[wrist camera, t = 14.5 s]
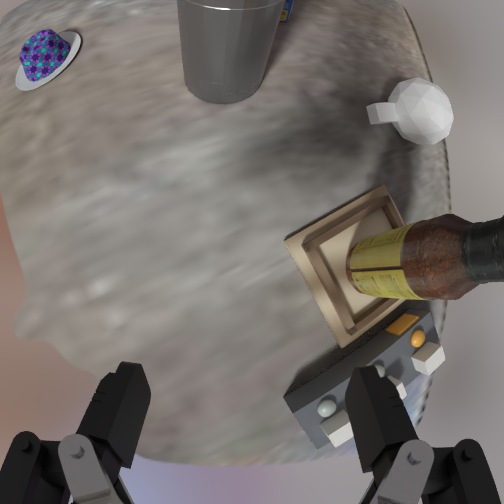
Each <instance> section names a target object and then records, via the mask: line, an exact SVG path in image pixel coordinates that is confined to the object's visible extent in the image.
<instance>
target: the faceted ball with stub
mask: <svg viewBox="0 0 504 504" xmlns="http://www.w3.org/2000/svg"><path fill="white" fill-rule="evenodd" d="M366 108H367V112H368V116H369V120H370V125H372V124H383V123H392V124H393V126H394V127H395V128H396V130H397V131H398V132H399V134H400V135H401V136H402V138H404V139H407V140H409V141H411V142H413V143H415V144H419V145H430V144H436V143H437V142H439V141H440V140H442V139H443V138H445V137H446V136H448V135H449V132H450V129H451V125H452V122H453V118H454V117H453V113H452V109H451V104H450V102H449V99H448V97H447V96H446V95H445V93H444V92H443V91H442V90H441V89H440V87H439V86H438V85H436V84H433V83H431V82H429V81H426V80H424V79H422V78H419V77H417V78H413V79H409V80H406V81H402V82H399V83H398V84H397V86H396V87H395V88H394V89H393V91H392V93H391V95H390V96H389V98H388V102H386V103H374V104H371V105H369V106H366Z"/></svg>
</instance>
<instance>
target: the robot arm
mask: <svg viewBox="0 0 504 504" xmlns="http://www.w3.org/2000/svg"><path fill="white" fill-rule="evenodd" d="M285 1H286V0H177V7H178V19H179V31H180V41H181V51H182V62H183V71H184V79H185V83H186V86H187V87H188V89H189V91H190V92H191V93H193V94H194V95H195V96H196V97H198V98H200V99H202V100H204V101H207V102H211V103H216V104H229V103H235V102H239V101H242V100H244V99H246V98H248V97H250V96H251V95H252V94H254V93H255V92H256V91H257V89H258V88H259V86H260V84H261V81H262V78H263V74H264V71H265V67H266V64H267V61H268V57H269V54H270V51H271V47H272V44H273V40H274V37H275V34H276V30H277V27H278V24H279V20H280V17H281V14H282V11H283V7H284V4H285ZM150 399H151V391H150V387H149V384H148V381H147V379H146V376H145V373H144V370H143V367H142V365H141V364H138V363H131V362H124V361H122V362H121V363H120V364H119V366H118V368H117V370H116V373H111V372H110V373H108V374H107V375H106V376H105V377H104V378H103V379H102V380H101V381H100V383H99V385H98V387H97V389H96V393H94V395H93V398H92V401H91V402H90V404H89V406H88V408H87V410H86V412H85V415H84V417H83V419H82V421H81V424H80V426H79V428H78V430H77V432H76V433H75V434H71V435H68V436H66V437H65V438H64V439H63V440H62V441H44V440H40V439H39V438H38V437H37V436H36V435H35V434H34V433H32V432H29V431H24V432H20V433H19V434H17V435H16V436H15V437H14V439H13V441H12V443H11V446H10V448H9V451H8V453H7V455H6V458H5V460H4V463H3V465H2V468H1V470H0V504H68V502H69V498H70V495H72V497H73V503H71V504H134V502H133V500H132V498H131V496H130V495H129V493H128V491H127V489H126V487H125V485H124V483H123V481H122V479H121V477H120V475H119V471H120V468H121V467H125V468H129V469H130V468H131V465H132V461H133V457H134V454H135V451H136V447H137V444H138V440H139V437H140V433H141V430H142V427H143V423H144V420H145V417H146V413H147V410H148V407H149V404H150ZM345 405H346V409H347V413H348V417H349V420H350V424H351V428H352V432H353V435H354V439H355V443H356V447H357V451H358V455H359V459H360V463H361V467H362V471H363V473H366V472H371V471H372V472H373V476H374V478H373V479H372V481H371V483H370V484H369V486H368V488H367V490H366V492H365V493H364V495H363V497H362V499H361V500H360V502H359V504H418V501H419V499H420V497H421V498H422V503H423V504H501V501H500V498H499V495H498V491H497V488H496V485H495V482H494V479H493V476H492V474H491V471H490V468H489V465H488V463H487V460H486V457H485V455H484V452H483V450H482V448H481V446H480V444H479V443H478V442H476V441H475V440H473V439H464V440H462V441H460V442H459V443H458V444H457V445H456V446H455V447H445V448H433V447H431V446H430V445H429V444H428V443H426V442H425V441H422V440H419V438H418V436H417V435H416V432H415V430H414V427H413V425H412V422H411V420H410V417H409V415H408V413H407V410H406V408H405V406H404V403H403V401H402V399H401V398H400V394H399V392H398V390H397V388H396V386H395V384H394V383H393V382H392V381H391V380H390V379H389V378H388V377H387V376H385V377H380V375H379V373H378V370H377V368H376V367H375V366H374V365H369V366H360V367H355V368H354V369H353V372H352V375H351V378H350V381H349V384H348V386H347V389H346V392H345Z"/></svg>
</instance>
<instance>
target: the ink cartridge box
mask: <svg viewBox="0 0 504 504" xmlns="http://www.w3.org/2000/svg"><path fill="white" fill-rule="evenodd" d="M294 1H295V0H286V1H285V4H284V7H283V11H282V14H281V17H280V20H279V21H283V22H288V20H289V17H290V14H291V11H292V7H293V4H294Z"/></svg>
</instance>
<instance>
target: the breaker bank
mask: <svg viewBox="0 0 504 504" xmlns="http://www.w3.org/2000/svg"><path fill="white" fill-rule="evenodd" d="M444 360H445V356H444V352H443V349H442V346H441V345H440V342H439V338H438V335H437V332H436V328H435V325H434V322H433V319H432V316H431V313H430V312H429V311H423V310H417V309H412V308H409V309H407V310H406V311H405V312H404V313H403V314H401V315H400V316H399V317H398V318H397V319H395V320H394V321H393V322H392V323H391V324H389V325H388V326H387V327H386V328H384V329H383V330H382V331H380V332H379V333H378V334H377V335H375V336H374V337H373V338H371V339H370V340H369V341H367V342H366V343H365V344H363V345H362V346H361V347H359V348H358V349H357V350H355V351H354V352H352V353H351V354H350V355H348V356H347V357H345V358H344V359H342V360H341V361H340V362H338V363H337V364H335V365H334V366H332V367H331V368H329V369H328V370H326V371H325V372H323V373H322V374H320V375H318V376H317V377H315V378H314V379H312V380H311V381H309V382H307V383H306V384H304V385H303V386H301V387H299V388H298V389H296V390H294V391H293V392H291V393H289V394H287V395H286V396H284V397H283V398H284V399H285V401H286V403H287V404H288V406H289V408H290V410H291V411H292V413H293V415H294V416H295V418H296V419H297V421H298V422H299V424H300V425H301V427H302V428H303V429H304V431H305V432H306V434H307V435H308V437H309V438H310V440H311V441H312V443H313V444H314V445H315V447H316V448H317V449H319V448H320V447H322V446H324V445H326V444H327V443H329V442H330V441H331V442H332V444H333V445H334V446H335V448H336V447H337V446H339V445H340V444H342V443H344V442H345V441H347V440H348V439H350V438H351V437H353V436H354V435H353V432H352V428H351V424H350V420H349V417H348V413H347V409H346V405H345V392H346V389H347V386H348V384H349V381H350V378H351V375H352V372H353V369H354V368H355V367H360V366H369V365H374V366H375V367H376V368H377V370H378V373H379V375H380V377H385V376H387V377H388V378H389V379H390V380H391V381H392V382H393V383H394V384H395V386H396V388H397V390H398V392H399V394H400V398H401V399H403V398H404V397H406V396H407V394H406V391H405V389H404V388H405V387H406V386H407V385H408V384H409V383H410V382H412V381H413V380H414V379H415V378H416V377H417V376H418V375H419V374H421V373H423V374H426V375H428V376H429V375H430V374H431V373H432V372H433V371H434V370H435V369H436V368H437V367H438V366H439V365H440V364H441V363H442V362H443V361H444Z"/></svg>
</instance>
